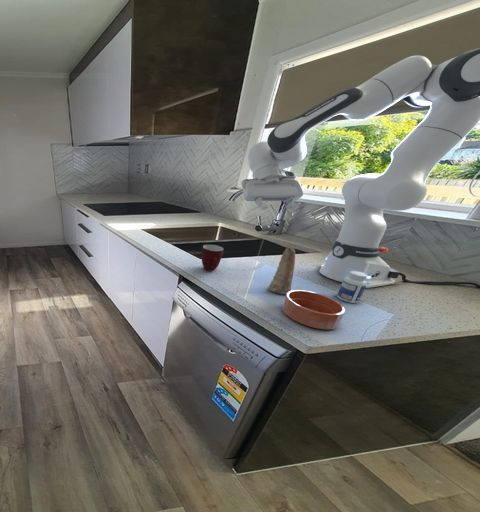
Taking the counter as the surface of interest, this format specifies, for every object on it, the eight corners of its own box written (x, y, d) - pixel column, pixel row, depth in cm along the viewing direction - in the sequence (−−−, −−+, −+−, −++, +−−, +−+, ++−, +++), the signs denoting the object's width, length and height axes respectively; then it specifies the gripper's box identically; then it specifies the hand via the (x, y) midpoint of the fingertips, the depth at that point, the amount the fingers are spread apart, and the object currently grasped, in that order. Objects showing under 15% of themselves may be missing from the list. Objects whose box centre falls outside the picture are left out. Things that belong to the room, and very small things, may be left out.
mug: (225, 276, 99) (230, 253, 95) (205, 276, 99) (209, 253, 96) (214, 265, 109) (218, 244, 105) (196, 265, 109) (199, 244, 105)
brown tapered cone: (265, 288, 91) (276, 298, 85) (271, 245, 83) (284, 252, 78) (282, 286, 90) (294, 295, 85) (290, 242, 83) (304, 248, 77)
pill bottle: (351, 295, 84) (362, 270, 80) (362, 304, 79) (375, 278, 76) (332, 294, 85) (343, 269, 82) (342, 302, 81) (354, 276, 77)
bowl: (311, 304, 80) (316, 289, 78) (351, 330, 68) (358, 314, 66) (271, 304, 80) (276, 290, 78) (304, 331, 68) (311, 315, 66)
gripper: (244, 173, 91) (253, 204, 86) (300, 172, 91) (312, 203, 85) (236, 184, 97) (243, 213, 92) (288, 184, 97) (299, 213, 91)
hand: (277, 209), depth 89 cm, fingers open, 8 cm apart
